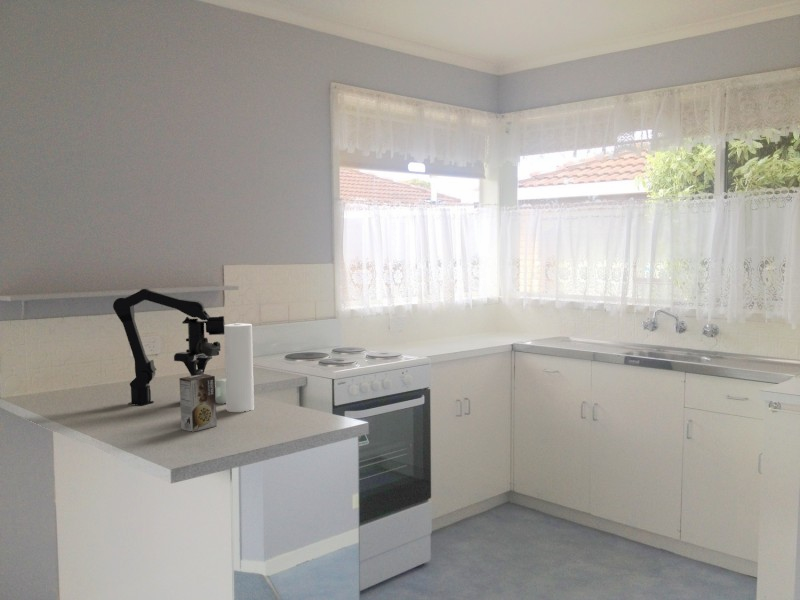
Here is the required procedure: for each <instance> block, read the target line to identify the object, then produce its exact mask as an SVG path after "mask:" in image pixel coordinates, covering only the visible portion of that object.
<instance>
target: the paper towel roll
mask: <svg viewBox="0 0 800 600" xmlns="http://www.w3.org/2000/svg"><path fill="white" fill-rule="evenodd" d="M253 342H254V341H253V324H252V323H243V322H236V323H230V324H229V323H228V324H225V325H224V360H225V361H224V365H225V366H224V367H225V370H224V371H225V379H226V405H225V407H226V411H227V412H230V413H245V412H244V411H246V412H250V411H249V410H251V411H253V410H254V409H255V395H254V394H255V391H254V387H255V385H254V354H253V353H254V346H253Z"/></svg>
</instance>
